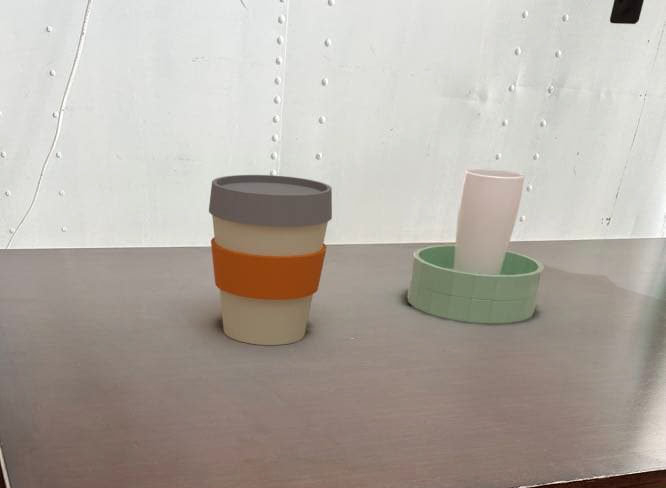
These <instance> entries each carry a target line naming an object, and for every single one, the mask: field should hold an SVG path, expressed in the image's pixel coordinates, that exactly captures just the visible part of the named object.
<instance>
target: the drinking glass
mask: <svg viewBox="0 0 666 488" xmlns="http://www.w3.org/2000/svg"><path fill="white" fill-rule="evenodd" d="M524 181H525V175H524V174H523V173H521V172H518V171H513V170H508V169H500V168H489V167H487V168H486V167H474V168H468V169H465V171H464V176H463V180H462V183H461V184H462V185H461V188H460V189H461V190H460V195H459V201H458V209H457V219H456V231H455V240H454V241H455V243H454V245H455V253H454V264H453V270H455V271H461V272H468V273H475V274H487V275H500V273H501V270H502V266H503V263H504V259H505V256H506V252H507V251H508V248H509V245H510V242H511V238H512V235H513V231H514V228H515V224H516V220H517V217H518V212H519V210H520V209H519V208H520V204H521V200H522V194H523V188H524Z"/></svg>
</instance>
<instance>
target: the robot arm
mask: <svg viewBox="0 0 666 488" xmlns="http://www.w3.org/2000/svg"><path fill="white" fill-rule="evenodd" d="M644 1H645V0H614V1H613V4H612V7H611V11H610V16H609V22H610V24H615V25H617V24H618V25H619V24H620V25H635V24H637V23H638V22H639V21H640V17H641V14H642V11H643V10H642V9H643V6H644Z"/></svg>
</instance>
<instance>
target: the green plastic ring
mask: <svg viewBox="0 0 666 488" xmlns="http://www.w3.org/2000/svg"><path fill="white" fill-rule="evenodd" d="M454 253H455V244H439V245H437V244H436V245H429V246H425V247H422V248H418V249H417V250H415V251H414V252H413V255H412V262H411V269H410V276H409V282H408V290H407V302H408V303H409V304H410V305H411V306H412V307H413V308H415V309H417V310H419V311H422V312H424V313H426V314H429V315H431V316H432V315H433V316H436V317H440V318H443V319H448V320H454V321H459V322H464V323H475V324H511V323H517V322H523V321H525V320H527V319H530V318H532V317H533V314H534V313H535V310H536V304H537V301H538V296H539V291H540V288H541V283H542V280H543V275H544V270H545V266H544V265H543V263H542V262H541V261H539V260H537V259H535V258H533V257H531V256H528V255H525V254H522V253H519V252H515V251H510V250H507V252H506V256H505V259H504V263H503V266H502V270H501V273H500V275H487V274H475V273H468V272H461V271H455V270H453V264H454Z"/></svg>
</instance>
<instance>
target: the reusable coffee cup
mask: <svg viewBox="0 0 666 488" xmlns="http://www.w3.org/2000/svg"><path fill="white" fill-rule="evenodd" d="M332 189H333V188H332V187H331V186H330V185H329V184H328V183H325V182H321V181H317V180H313V179H310V178H309V179H308V178H304V177H303V178H302V177H294V176H285V175H273V174H271V175H270V174H237V175H236V174H235V175H225V176H220V177H217V178H214V179H213V180H211V187H210V196H209V205H208V213H209V214H210V215H211V216H212V226H213V237H212V238H211V240H210V245H211V246H210V247H211V256H212V265H213V275H214V277H213V278H214V284H215V286H216V287H217V289H219V297H220V304H221V305H220V306H221V307H220V308H221V314H222V315H221V317H222V328H223V334H225V335H226V336H228V338H230V339H232V340H235V341H238V342H241V343H244V344H245V343H246V344H251V345H258V346H281V345H289V344H293V343H296V342H299V341H300V340H303V338H305V335H306V330H307V325H308V321H309V316H310V311H311V305H312V300H313V296H314V294H316V293H317V292H318V290H319V286H320V282H321V277H322V271H323V268H324V261H325V257H326V253H327V248H328V246H327V245H326V244H325V237H326V234H327V228H328V223H329V222H330V221H331V220H332V219H333V201H332V200H333V199H332V197H333V196H332V193H333V192H332Z"/></svg>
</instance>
